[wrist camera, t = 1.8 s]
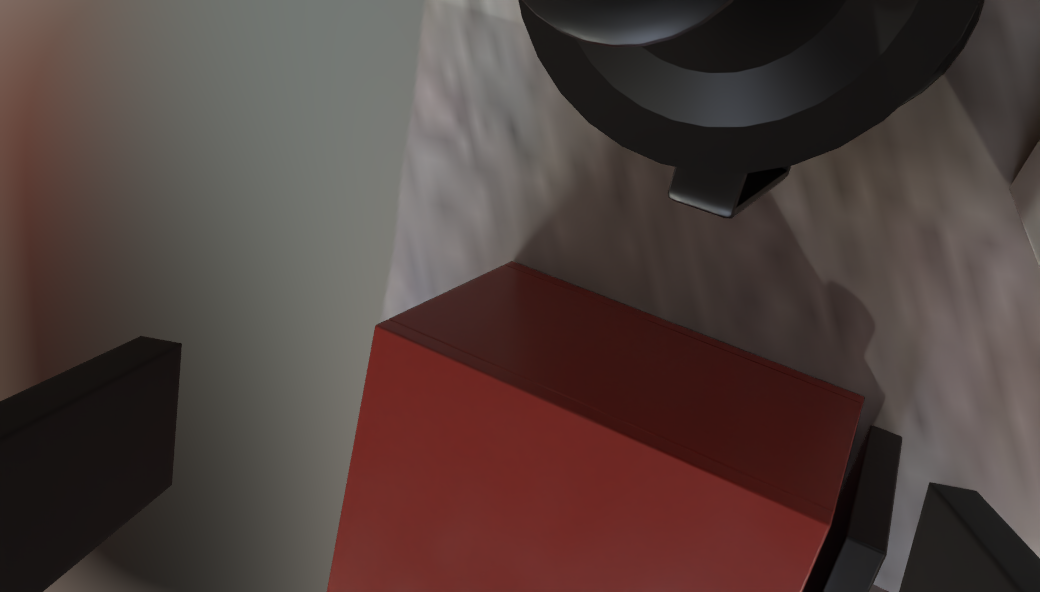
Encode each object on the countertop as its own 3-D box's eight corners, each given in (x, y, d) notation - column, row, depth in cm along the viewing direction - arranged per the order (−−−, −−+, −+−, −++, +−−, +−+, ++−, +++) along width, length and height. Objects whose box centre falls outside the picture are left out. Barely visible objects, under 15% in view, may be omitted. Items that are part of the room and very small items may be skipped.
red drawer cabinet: (865, 396, 34) (831, 525, 25) (752, 663, 39) (689, 854, 29) (511, 260, 39) (374, 324, 30) (452, 510, 44) (318, 632, 35)
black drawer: (1030, 486, 31) (1054, 627, 23) (898, 739, 36) (882, 927, 28) (556, 299, 38) (454, 362, 30) (494, 534, 42) (392, 641, 34)
